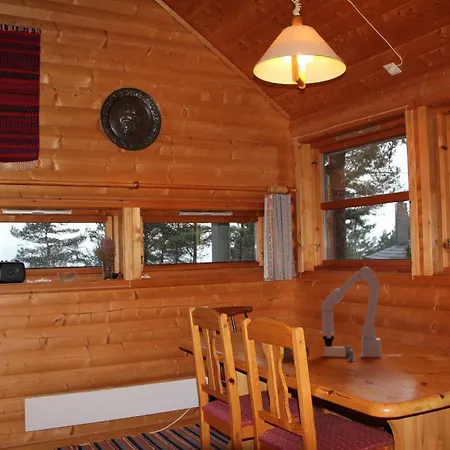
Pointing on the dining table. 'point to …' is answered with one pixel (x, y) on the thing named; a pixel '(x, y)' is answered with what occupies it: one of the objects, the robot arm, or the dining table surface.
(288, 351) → the tin
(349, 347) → the pivot post
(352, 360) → the latch block
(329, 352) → the lipped cream column
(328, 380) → the dining table surface
